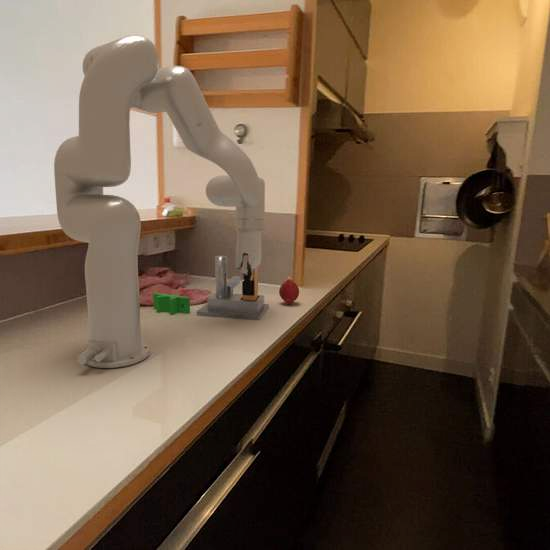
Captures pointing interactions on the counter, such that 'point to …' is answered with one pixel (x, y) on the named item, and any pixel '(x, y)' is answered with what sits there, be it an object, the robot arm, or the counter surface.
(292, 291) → the onion
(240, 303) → the grey post stand
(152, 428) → the counter surface
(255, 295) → the orange rectangular block
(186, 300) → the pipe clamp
